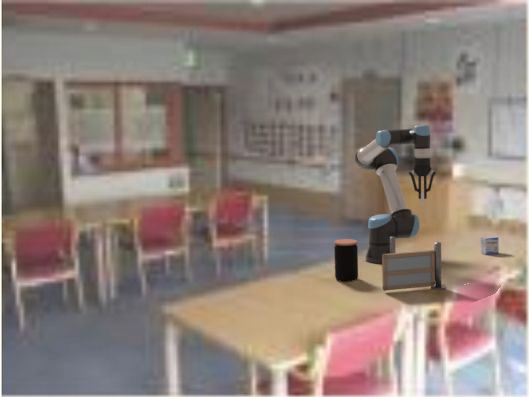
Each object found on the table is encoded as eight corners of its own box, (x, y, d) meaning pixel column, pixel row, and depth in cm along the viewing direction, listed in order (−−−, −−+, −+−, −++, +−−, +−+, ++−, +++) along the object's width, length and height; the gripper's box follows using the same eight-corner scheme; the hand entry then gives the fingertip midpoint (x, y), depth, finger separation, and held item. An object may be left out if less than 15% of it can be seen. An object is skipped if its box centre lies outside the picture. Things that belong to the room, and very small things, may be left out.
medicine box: (485, 255, 363) (485, 238, 362) (480, 253, 368) (480, 237, 366) (498, 253, 365) (498, 237, 364) (493, 251, 370) (493, 235, 368)
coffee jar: (343, 275, 334) (342, 238, 331) (362, 278, 327) (361, 240, 324) (330, 280, 325) (329, 242, 323) (350, 283, 319) (349, 244, 316)
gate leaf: (433, 284, 305) (432, 250, 303) (434, 285, 304) (434, 250, 302) (382, 289, 301) (382, 254, 299) (384, 290, 300) (383, 255, 297)
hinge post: (430, 289, 303) (430, 244, 300) (431, 285, 309) (430, 241, 306) (445, 289, 301) (444, 244, 299) (445, 286, 307) (444, 241, 304)
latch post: (390, 277, 326) (389, 237, 323) (390, 276, 328) (390, 236, 326) (395, 277, 325) (395, 237, 323) (396, 276, 328) (395, 236, 325)
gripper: (408, 158, 335) (408, 206, 338) (436, 157, 332) (436, 206, 335) (408, 156, 342) (409, 204, 345) (436, 156, 339) (436, 204, 342)
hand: (422, 205), depth 340 cm, fingers closed
